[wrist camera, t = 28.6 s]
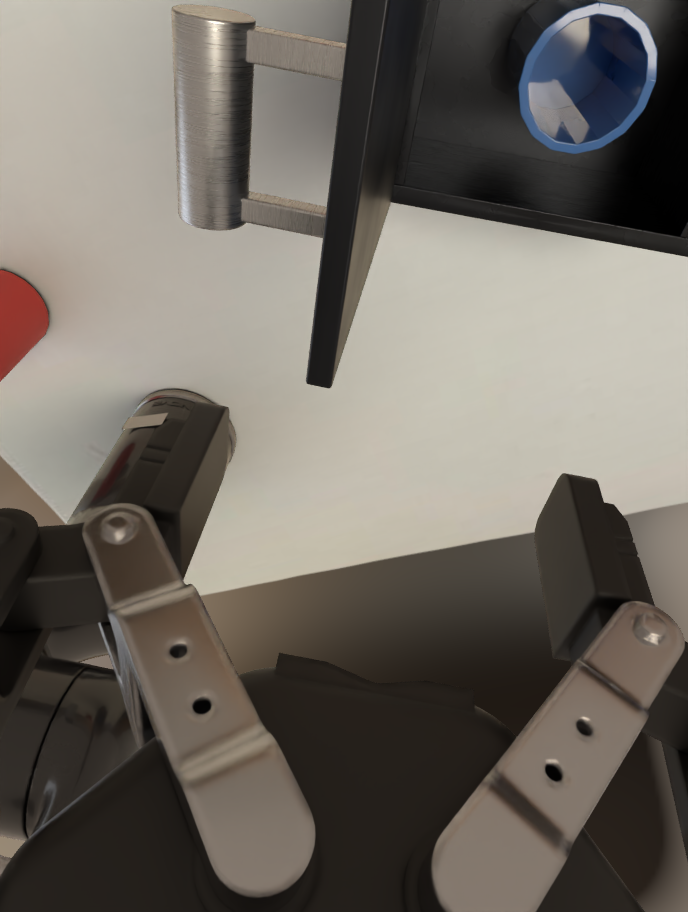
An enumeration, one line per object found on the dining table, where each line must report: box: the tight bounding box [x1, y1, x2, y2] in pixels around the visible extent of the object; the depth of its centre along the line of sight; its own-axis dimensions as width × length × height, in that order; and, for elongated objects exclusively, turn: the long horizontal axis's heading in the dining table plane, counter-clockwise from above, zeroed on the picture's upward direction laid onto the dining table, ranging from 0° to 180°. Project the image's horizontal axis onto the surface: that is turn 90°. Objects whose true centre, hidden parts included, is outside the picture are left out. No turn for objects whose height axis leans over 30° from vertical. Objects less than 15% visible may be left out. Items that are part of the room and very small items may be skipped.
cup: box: [506, 0, 658, 154], centre depth 32 cm, size 6×6×8 cm
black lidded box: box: [391, 0, 688, 257], centre depth 32 cm, size 16×12×10 cm
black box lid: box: [172, 0, 428, 388], centre depth 21 cm, size 17×12×5 cm
